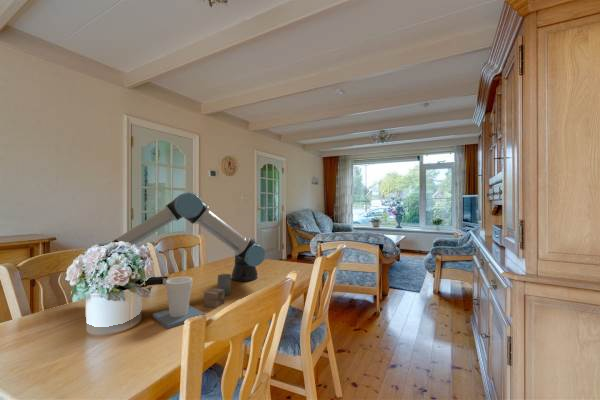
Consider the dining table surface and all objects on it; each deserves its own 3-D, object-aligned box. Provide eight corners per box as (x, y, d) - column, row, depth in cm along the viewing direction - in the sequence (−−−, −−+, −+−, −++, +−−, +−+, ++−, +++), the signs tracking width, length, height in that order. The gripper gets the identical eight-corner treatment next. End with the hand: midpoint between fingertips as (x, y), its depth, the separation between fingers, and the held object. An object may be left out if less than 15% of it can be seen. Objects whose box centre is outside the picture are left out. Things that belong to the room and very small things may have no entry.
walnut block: (212, 301, 122) (213, 288, 122) (224, 303, 120) (224, 289, 120) (204, 306, 116) (204, 292, 116) (215, 308, 114) (216, 294, 114)
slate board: (188, 307, 115) (188, 304, 115) (204, 316, 105) (204, 313, 105) (152, 316, 104) (152, 313, 104) (167, 328, 95) (167, 325, 95)
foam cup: (183, 307, 111) (184, 275, 111) (196, 312, 106) (197, 279, 106) (160, 314, 103) (161, 280, 104) (173, 321, 98) (174, 285, 98)
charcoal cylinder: (226, 291, 136) (226, 273, 136) (232, 294, 131) (233, 275, 131) (215, 293, 131) (215, 275, 131) (221, 297, 127) (221, 277, 127)
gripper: (147, 283, 126) (185, 288, 119) (91, 301, 102) (134, 309, 95) (148, 266, 126) (185, 271, 119) (92, 281, 102) (134, 288, 95)
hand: (163, 288), depth 107 cm, fingers open, 13 cm apart
